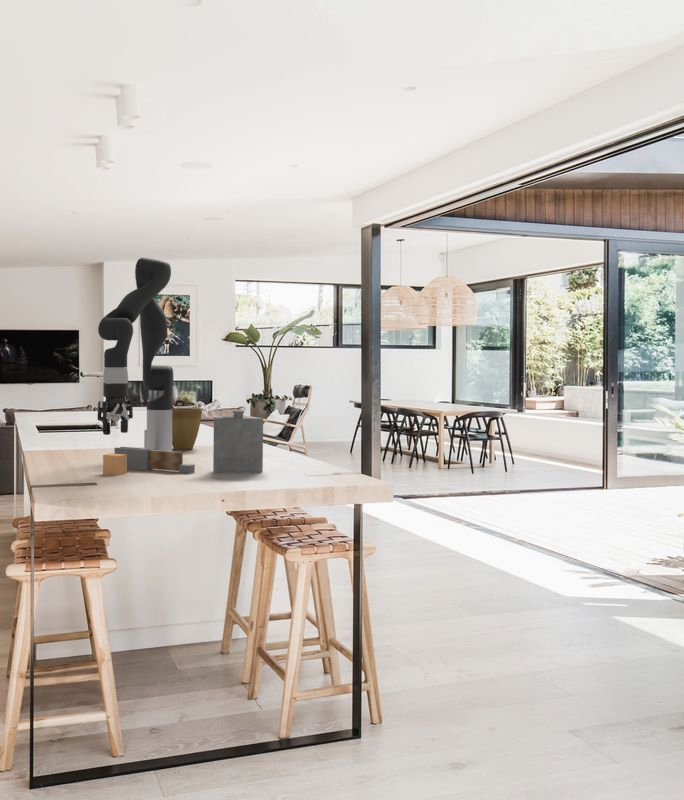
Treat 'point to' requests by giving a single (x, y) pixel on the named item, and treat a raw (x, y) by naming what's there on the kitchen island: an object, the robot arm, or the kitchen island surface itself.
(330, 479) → the kitchen island surface
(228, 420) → the hip flask
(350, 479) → the kitchen island surface
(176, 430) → the plant pot
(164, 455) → the gate
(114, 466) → the orange block
